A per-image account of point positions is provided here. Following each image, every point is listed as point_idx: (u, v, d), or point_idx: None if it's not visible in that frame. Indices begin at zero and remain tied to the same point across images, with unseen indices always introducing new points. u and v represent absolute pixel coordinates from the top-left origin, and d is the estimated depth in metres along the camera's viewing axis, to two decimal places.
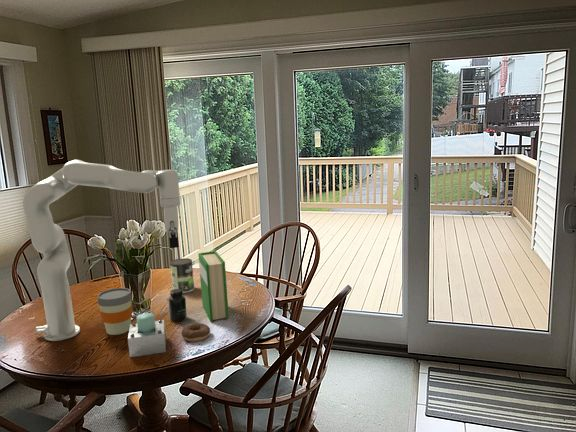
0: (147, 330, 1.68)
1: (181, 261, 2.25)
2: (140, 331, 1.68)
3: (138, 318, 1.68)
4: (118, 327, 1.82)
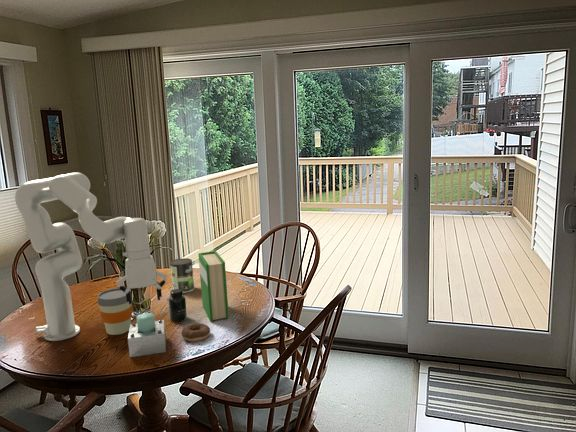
0: (147, 330, 1.68)
1: (181, 261, 2.25)
2: (140, 331, 1.68)
3: (138, 318, 1.68)
4: (118, 327, 1.82)
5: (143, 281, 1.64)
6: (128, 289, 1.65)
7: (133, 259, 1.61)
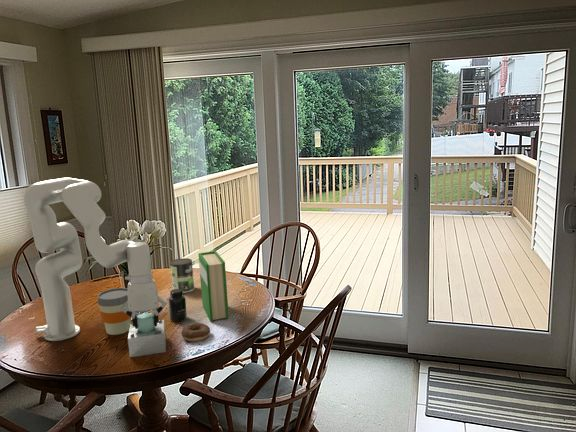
0: (147, 330, 1.68)
1: (181, 261, 2.25)
2: (140, 331, 1.68)
3: (138, 318, 1.68)
4: (118, 327, 1.82)
5: (145, 305, 1.66)
6: (135, 314, 1.67)
7: (135, 283, 1.63)
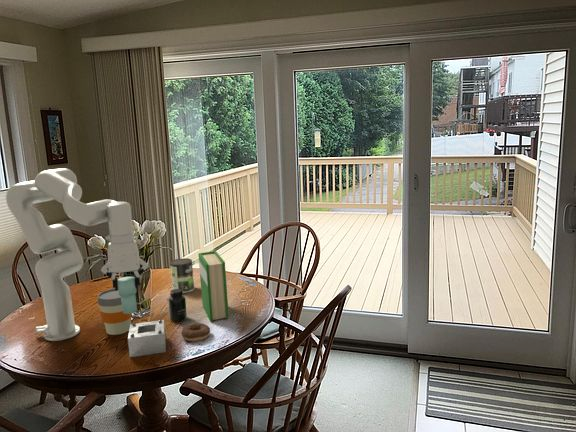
0: (128, 293, 1.64)
1: (181, 261, 2.25)
2: (121, 294, 1.64)
3: (118, 281, 1.64)
4: (118, 327, 1.82)
5: (125, 266, 1.62)
6: (115, 275, 1.63)
7: (116, 243, 1.59)
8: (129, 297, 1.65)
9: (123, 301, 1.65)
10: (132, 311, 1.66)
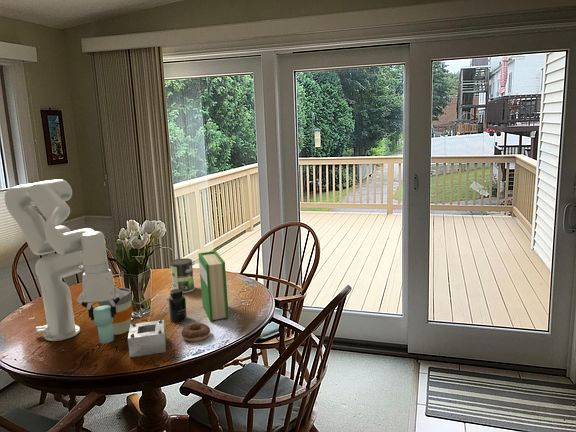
0: (104, 322, 1.63)
1: (181, 261, 2.25)
2: (97, 323, 1.63)
3: (94, 310, 1.64)
4: (118, 327, 1.82)
5: (100, 295, 1.62)
6: (90, 305, 1.63)
7: (90, 273, 1.59)
8: (105, 326, 1.64)
9: (99, 330, 1.64)
10: (108, 340, 1.65)
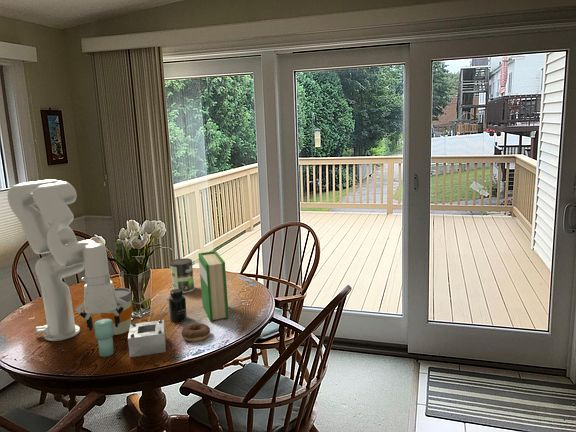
0: (105, 336, 1.64)
1: (181, 261, 2.25)
2: (97, 337, 1.64)
3: (95, 324, 1.65)
4: (118, 327, 1.82)
5: (102, 307, 1.63)
6: (88, 315, 1.64)
7: (91, 285, 1.60)
8: (106, 340, 1.65)
9: (99, 344, 1.66)
10: (108, 354, 1.66)
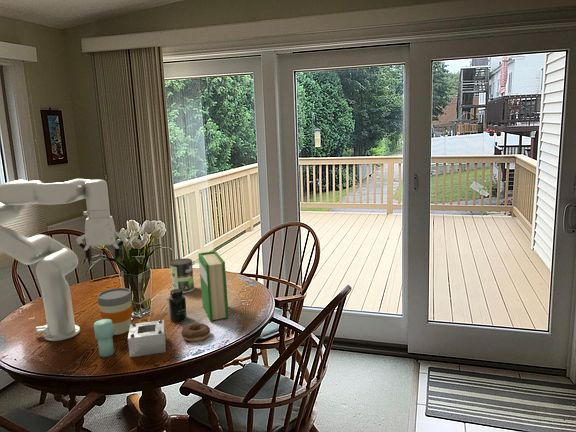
0: (104, 336, 1.64)
1: (181, 261, 2.25)
2: (97, 338, 1.64)
3: (95, 324, 1.64)
4: (118, 327, 1.82)
5: (101, 239, 1.73)
6: (87, 246, 1.74)
7: (92, 218, 1.70)
8: (106, 340, 1.65)
9: (99, 344, 1.65)
10: (108, 354, 1.66)
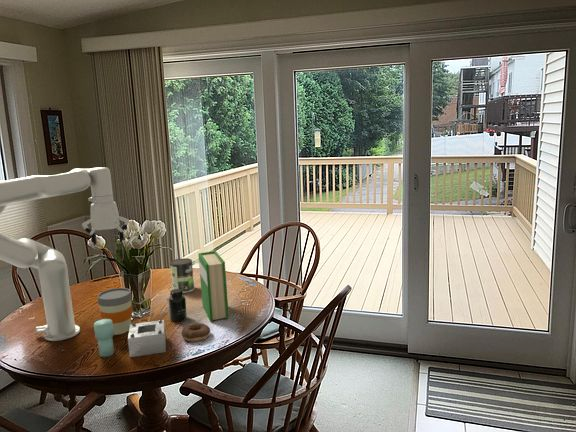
0: (104, 336, 1.64)
1: (181, 261, 2.25)
2: (97, 337, 1.64)
3: (95, 324, 1.65)
4: (118, 327, 1.82)
5: (106, 224, 1.84)
6: (93, 231, 1.84)
7: (97, 203, 1.81)
8: (106, 340, 1.65)
9: (99, 344, 1.65)
10: (108, 354, 1.66)
